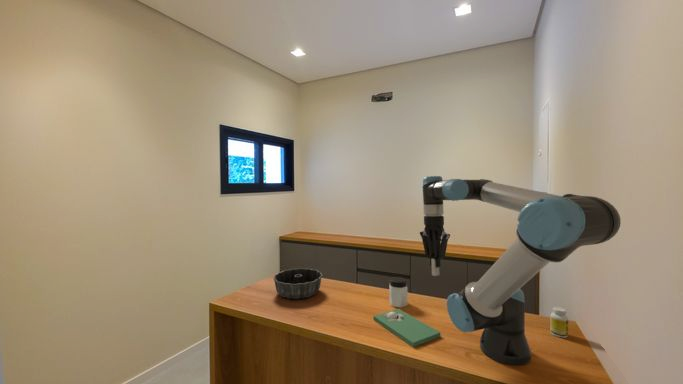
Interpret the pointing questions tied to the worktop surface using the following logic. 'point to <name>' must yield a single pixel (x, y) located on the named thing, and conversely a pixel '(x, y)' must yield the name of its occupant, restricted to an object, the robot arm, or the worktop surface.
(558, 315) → the supplement bottle
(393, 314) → the ball
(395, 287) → the jar
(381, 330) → the worktop surface
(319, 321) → the worktop surface
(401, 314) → the mat
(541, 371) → the worktop surface
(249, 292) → the worktop surface
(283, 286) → the bundt pan
